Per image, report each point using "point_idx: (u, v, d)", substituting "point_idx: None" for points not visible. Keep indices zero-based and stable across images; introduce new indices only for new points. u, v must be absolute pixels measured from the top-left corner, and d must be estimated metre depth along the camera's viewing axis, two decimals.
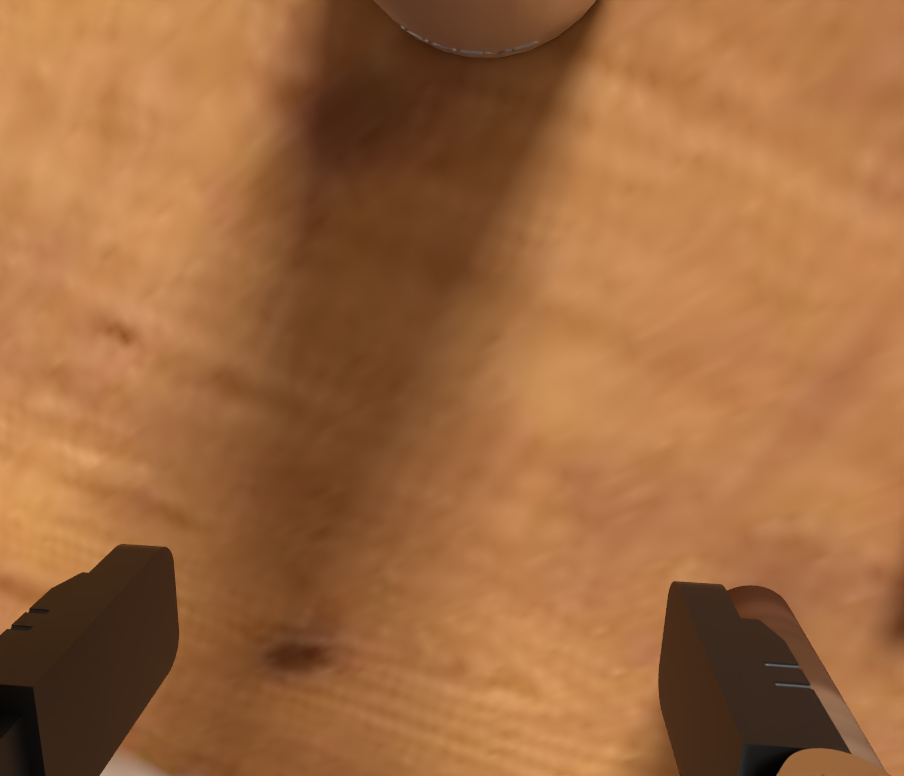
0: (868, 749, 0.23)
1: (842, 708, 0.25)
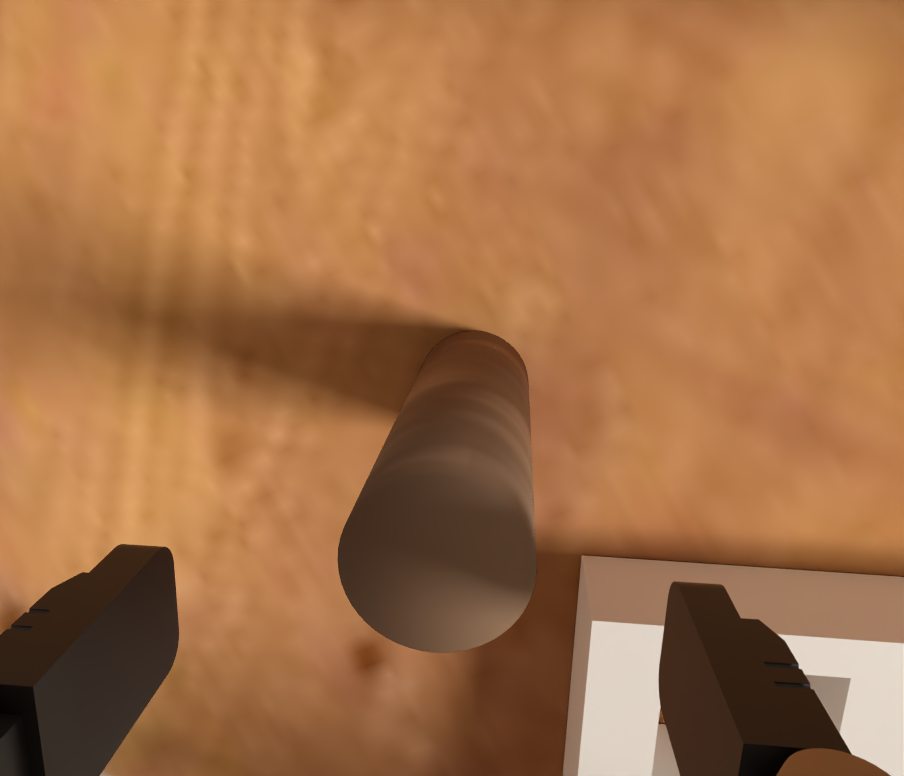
0: None
1: None
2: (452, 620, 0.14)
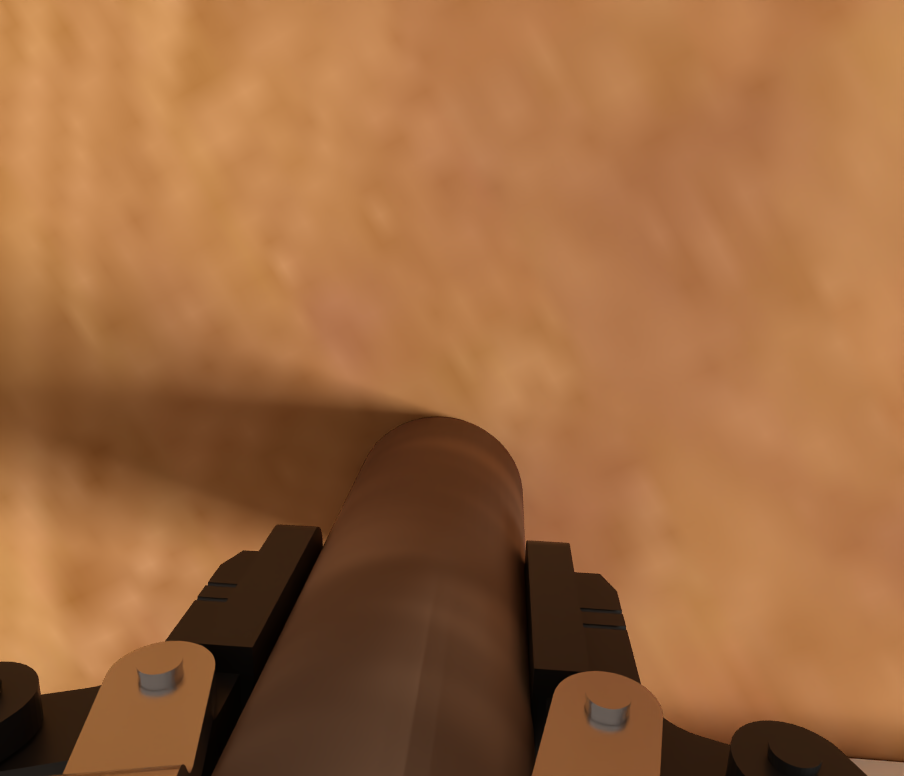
0: None
1: None
2: None
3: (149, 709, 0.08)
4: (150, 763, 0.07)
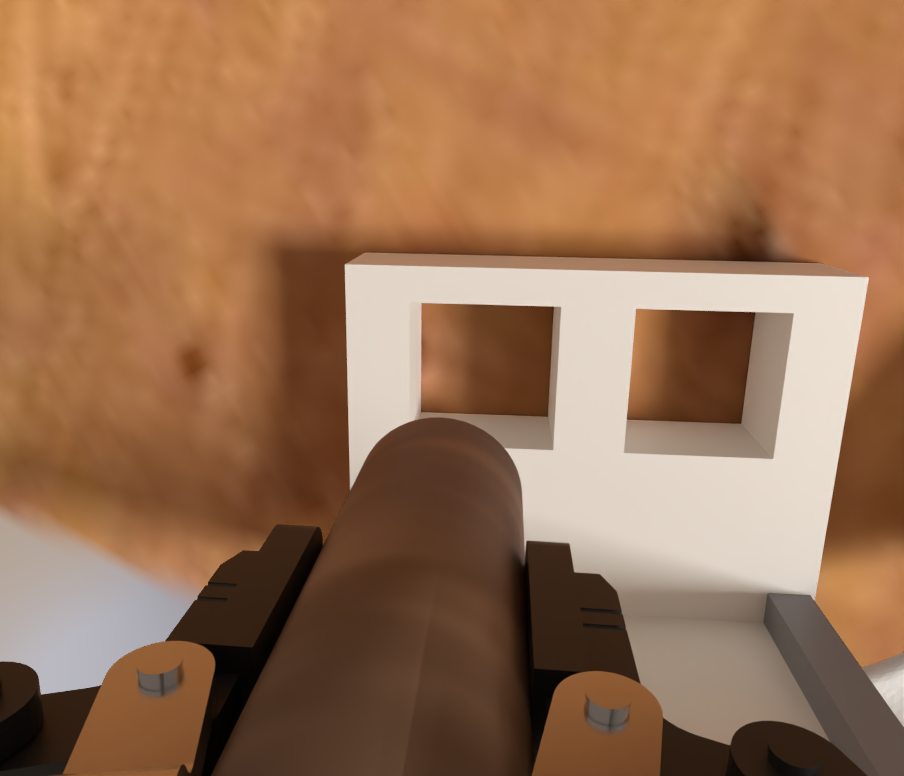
0: None
1: None
2: None
3: (150, 708, 0.08)
4: (151, 763, 0.07)
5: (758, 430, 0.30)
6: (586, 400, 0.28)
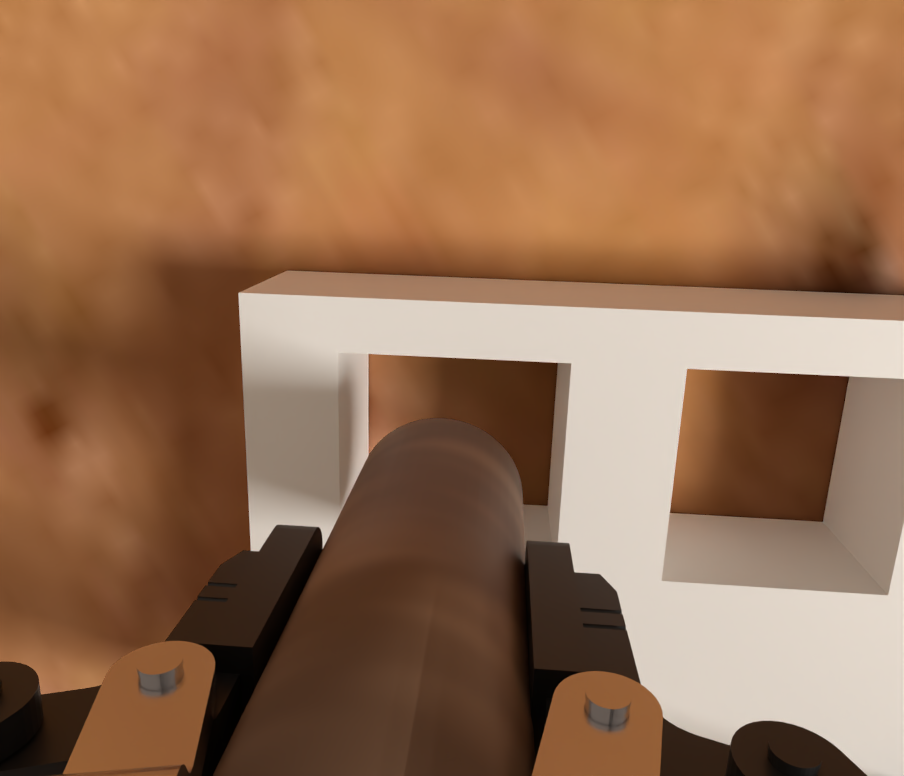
0: None
1: None
2: None
3: (150, 708, 0.08)
4: (151, 763, 0.07)
5: (857, 542, 0.20)
6: (606, 503, 0.18)
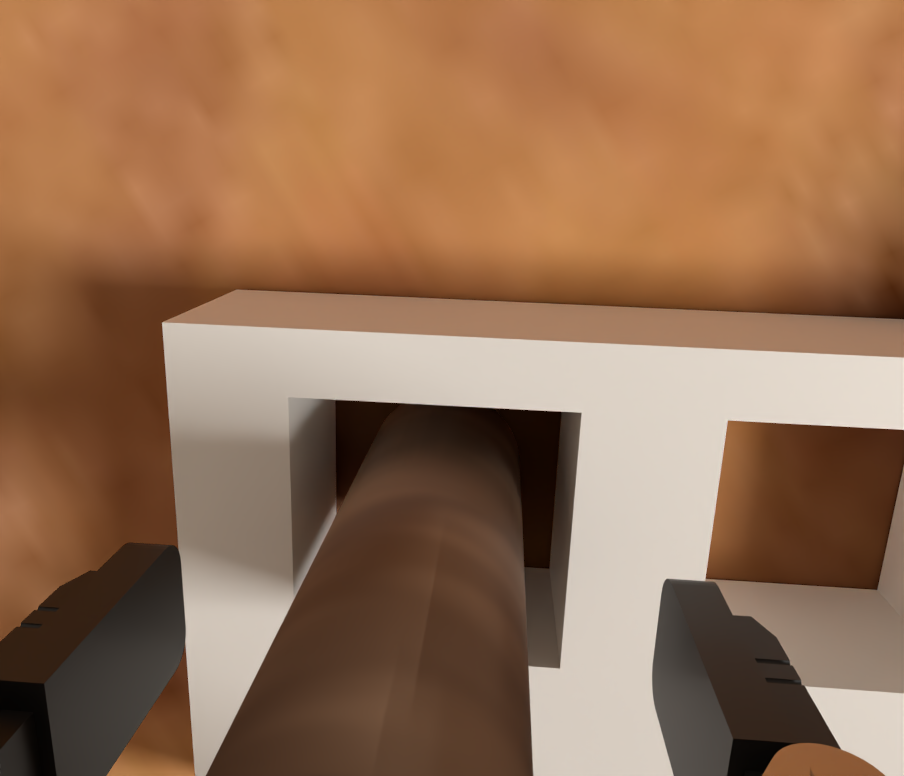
0: None
1: None
2: None
3: None
4: None
5: None
6: (624, 585, 0.15)
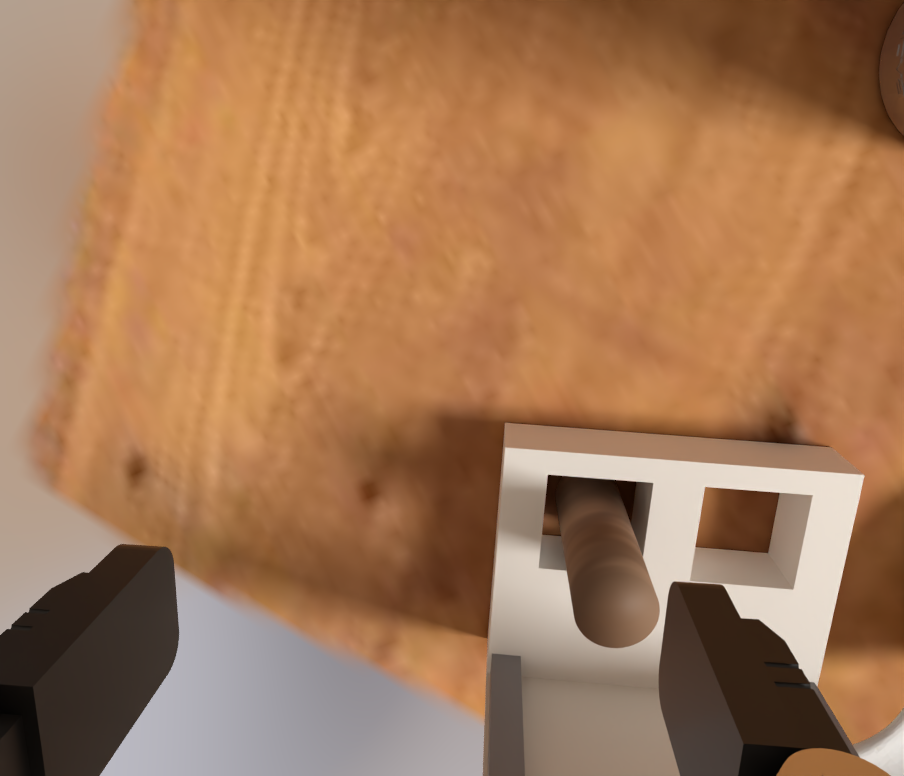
0: None
1: None
2: (621, 634, 0.32)
3: None
4: None
5: (782, 564, 0.42)
6: (665, 545, 0.40)
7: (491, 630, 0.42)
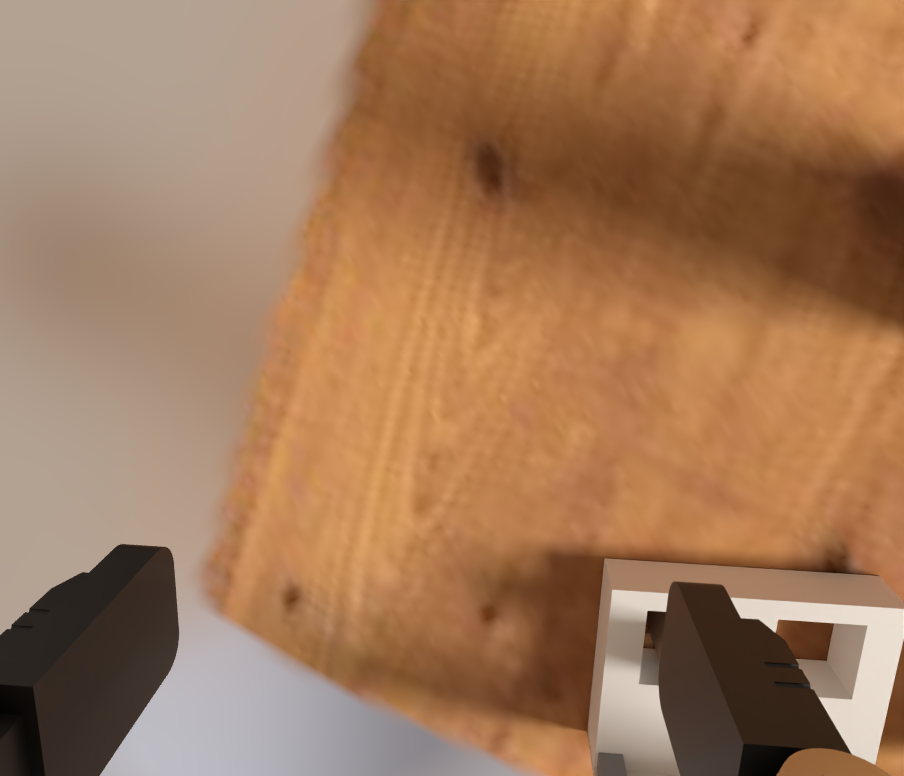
0: None
1: None
2: None
3: None
4: None
5: (840, 674, 0.50)
6: None
7: (598, 733, 0.50)
